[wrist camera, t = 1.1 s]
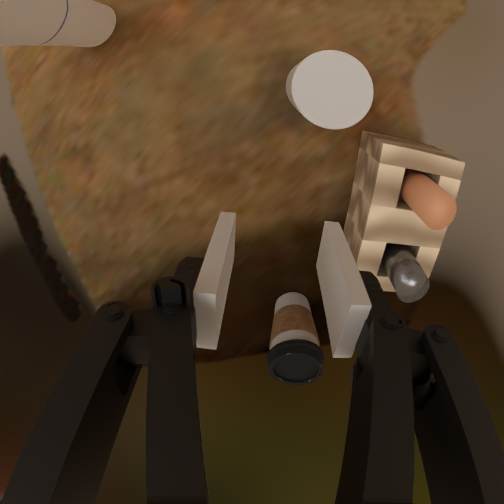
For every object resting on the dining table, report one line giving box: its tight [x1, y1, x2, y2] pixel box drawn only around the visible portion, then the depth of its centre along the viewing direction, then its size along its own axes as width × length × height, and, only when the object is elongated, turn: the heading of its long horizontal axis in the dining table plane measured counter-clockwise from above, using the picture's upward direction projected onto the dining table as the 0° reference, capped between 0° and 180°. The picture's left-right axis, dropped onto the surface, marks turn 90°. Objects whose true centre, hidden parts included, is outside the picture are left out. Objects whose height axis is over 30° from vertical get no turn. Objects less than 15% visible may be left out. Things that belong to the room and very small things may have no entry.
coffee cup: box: [266, 292, 324, 385], centre depth 49 cm, size 8×8×15 cm
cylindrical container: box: [0, 0, 116, 47], centre depth 21 cm, size 7×7×25 cm
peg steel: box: [381, 243, 430, 303], centre depth 38 cm, size 4×4×9 cm
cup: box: [286, 50, 373, 129], centre depth 32 cm, size 8×8×12 cm
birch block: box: [343, 131, 465, 292], centre depth 40 cm, size 20×12×9 cm, turn 176°
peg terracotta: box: [399, 168, 457, 230], centre depth 33 cm, size 4×4×9 cm
